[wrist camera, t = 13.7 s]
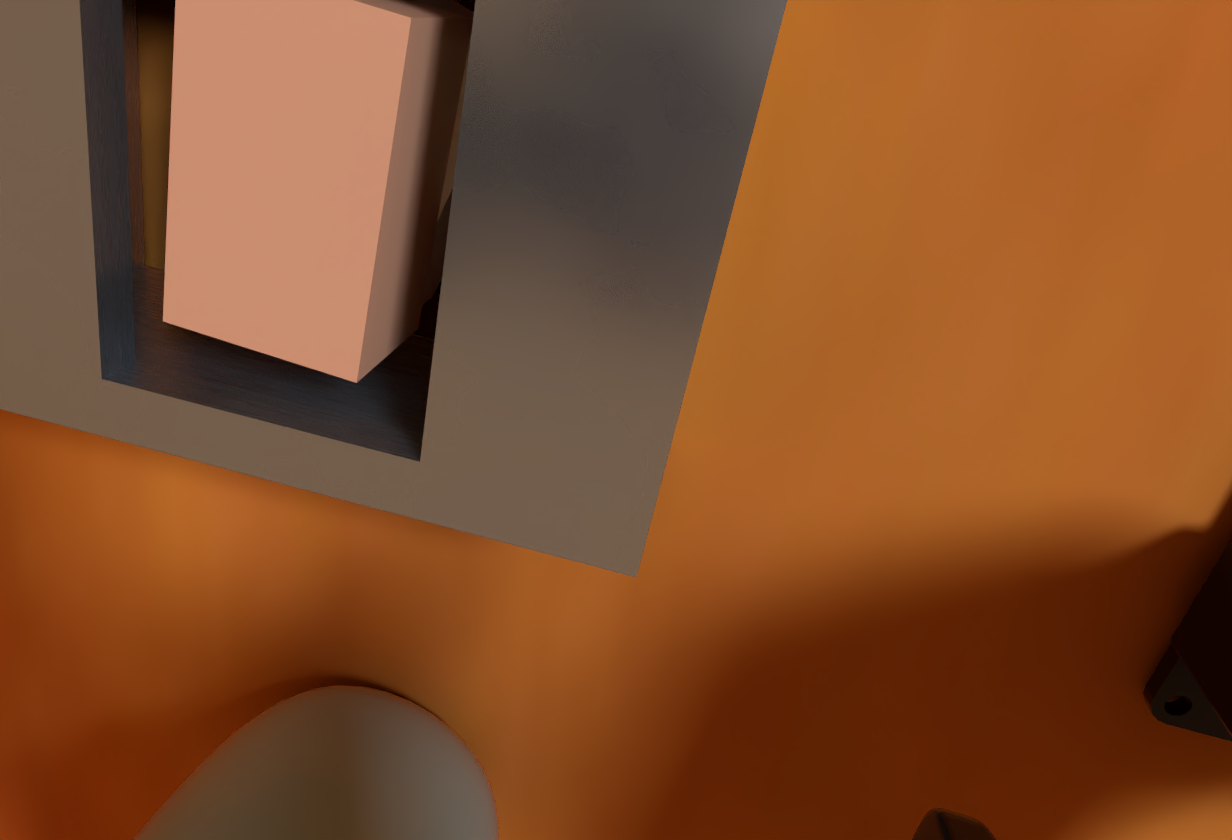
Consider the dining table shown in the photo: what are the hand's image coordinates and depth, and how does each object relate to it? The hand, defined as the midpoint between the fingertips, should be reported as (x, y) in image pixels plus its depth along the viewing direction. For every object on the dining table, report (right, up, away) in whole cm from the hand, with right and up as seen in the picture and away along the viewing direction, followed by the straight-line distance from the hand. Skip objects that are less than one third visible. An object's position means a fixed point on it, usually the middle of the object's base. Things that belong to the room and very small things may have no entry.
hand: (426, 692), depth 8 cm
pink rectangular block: (-2, +7, +6) cm, 9 cm away
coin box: (-2, +8, +8) cm, 11 cm away
